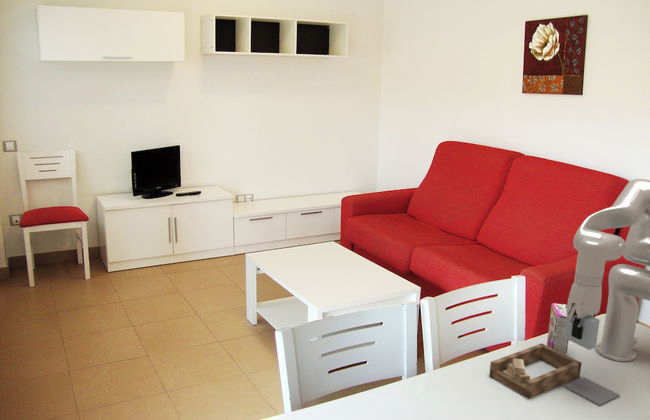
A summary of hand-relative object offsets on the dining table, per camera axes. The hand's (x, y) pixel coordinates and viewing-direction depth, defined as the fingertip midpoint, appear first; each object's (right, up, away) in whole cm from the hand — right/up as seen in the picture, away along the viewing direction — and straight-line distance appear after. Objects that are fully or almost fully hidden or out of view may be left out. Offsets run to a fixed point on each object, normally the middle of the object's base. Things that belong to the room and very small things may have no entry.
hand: (580, 335), depth 186 cm
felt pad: (+4, -17, +1) cm, 18 cm away
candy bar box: (+1, -11, +24) cm, 27 cm away
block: (0, -2, +1) cm, 2 cm away
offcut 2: (-17, -11, +4) cm, 21 cm away
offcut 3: (-17, -14, +4) cm, 23 cm away
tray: (-11, -15, +9) cm, 20 cm away
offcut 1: (-18, -16, +5) cm, 24 cm away
